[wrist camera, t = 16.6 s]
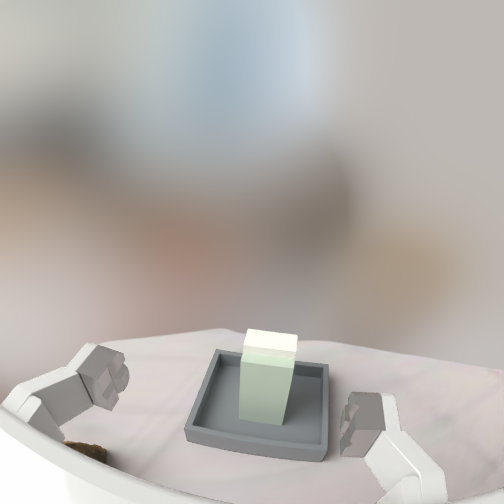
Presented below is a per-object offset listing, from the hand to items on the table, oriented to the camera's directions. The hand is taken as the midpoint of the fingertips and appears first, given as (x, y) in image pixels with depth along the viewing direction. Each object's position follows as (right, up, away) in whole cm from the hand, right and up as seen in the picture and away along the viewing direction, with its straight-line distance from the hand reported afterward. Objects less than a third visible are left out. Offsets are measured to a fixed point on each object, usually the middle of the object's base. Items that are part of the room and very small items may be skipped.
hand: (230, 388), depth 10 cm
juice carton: (+2, -17, +31) cm, 36 cm away
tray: (+2, -18, +32) cm, 37 cm away
